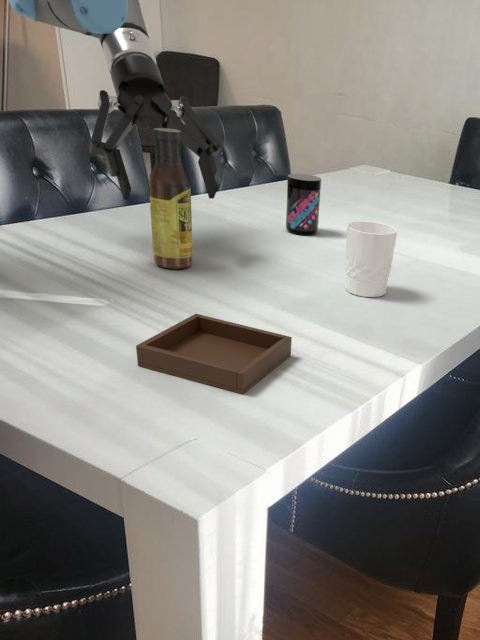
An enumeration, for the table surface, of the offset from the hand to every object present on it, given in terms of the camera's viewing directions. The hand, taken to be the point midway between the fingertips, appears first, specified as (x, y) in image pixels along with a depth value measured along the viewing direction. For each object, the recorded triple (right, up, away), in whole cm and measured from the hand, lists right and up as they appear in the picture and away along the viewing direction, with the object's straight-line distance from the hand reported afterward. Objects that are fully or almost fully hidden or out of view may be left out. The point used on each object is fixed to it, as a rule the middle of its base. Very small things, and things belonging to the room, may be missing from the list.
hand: (172, 194), depth 101 cm
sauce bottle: (-2, -9, +7) cm, 11 cm away
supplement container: (+17, +7, +34) cm, 38 cm away
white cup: (+30, -13, +6) cm, 34 cm away
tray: (+12, -30, -22) cm, 39 cm away
